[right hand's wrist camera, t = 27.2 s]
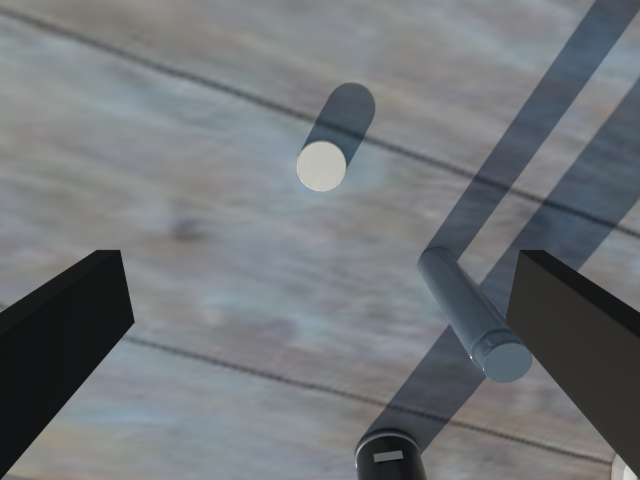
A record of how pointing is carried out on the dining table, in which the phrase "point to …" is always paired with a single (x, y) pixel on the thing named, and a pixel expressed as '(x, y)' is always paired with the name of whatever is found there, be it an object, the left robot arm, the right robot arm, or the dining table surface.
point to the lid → (321, 165)
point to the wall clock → (621, 470)
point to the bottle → (474, 318)
